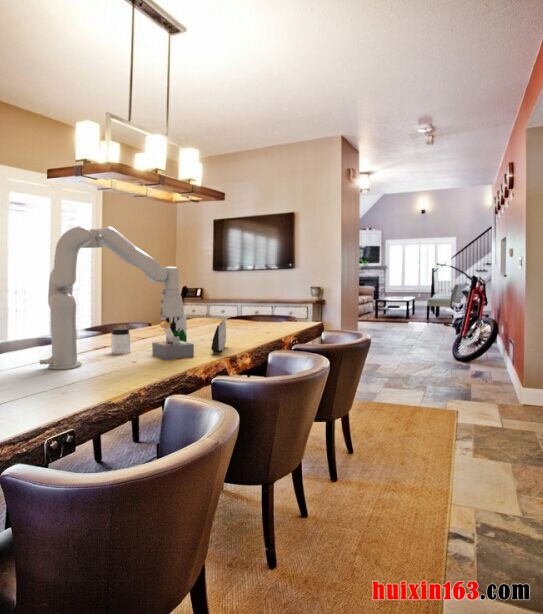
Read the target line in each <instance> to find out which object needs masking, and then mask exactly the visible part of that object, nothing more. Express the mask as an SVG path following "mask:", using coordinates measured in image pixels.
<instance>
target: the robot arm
mask: <svg viewBox="0 0 543 614" xmlns="http://www.w3.org/2000/svg"><path fill="white" fill-rule="evenodd" d="M83 248H85V249H91V248H98V249H100V248H107V249H108V250H110V251H111V252H112V253H113V254H115V255H116V256H117V257H118V258H119V259H120V260H122V261H123V262H124V263H126V264H128V265H130V266H134V267H135V268H137V269H139V270H140V271H141V272H143V274H144V278H145V279H146V281H148V282H149V283H155V284H156V283H157V284H161V283H162V290H161V291H160V294H161V295H162V296H161V301H160V315H161V317H160V320H162V321H165V322H169V323H170V325H171V326H170V329H171V331H172V332H175V330H176V323H177V321H178V320H179V319H181V318H183V315H184V313H185V311H184V303H183V298H182V295H180V269H179V268H178V267H177V266H163V265H162V264H160V263H159V262H158V261H157V260H156V259H155V258H153V257H152V256H150V254H147V253H146V252H145V251H143V250H142V249H140V248H139V247H138V246H136V245H134V243H133V242H131V241H130V240H129V239H128V238H127V237H125V236H124V235H123V234H122V233H120V232H119V231H118V230H117V229H115V228H113V227H112V226H105V227H102V228H88V227H86V226H84V225H78V226H75V227H72V228H70V229H68V230H67V231H65V232H64V233H63V234H62V235H61V236H60V237H59V239H58V241H57V243H56V246H55V251H54V261H53V262H54V263H53V269H52V270H51V272H50V273H49V281H48V293H47V294H48V296H47V297H48V298H47V303H48V307H49V309H50V333H51V355H50V357H48V358H47V359H46V358H43V359H39V365H48V368H49V369H50V370H70V369H76V368H79V367H81V366H82V362H81V361H78V346H77V345H78V343H77V339H78V338H77V301H76V299H75V297H74V296H73V288H74V285H75V284H76V282H77V261H78V256H79V255H78V254H79V252H80V249H83ZM172 317H173V319H172Z"/></svg>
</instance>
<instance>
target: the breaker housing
mask: <svg viewBox="0 0 543 614" xmlns="http://www.w3.org/2000/svg"><path fill="white" fill-rule="evenodd" d="M165 336H166V337H165V339H166V340H165V341H158V342H157V341H156V342H152V343H151V344H152V356H154V357H156V356H157V358H159V359H162V360H164V359H165V360H164V361H171V360H177V359H178V358H180V359H186V358H185V357H188V358H193V356H194V357H195V349H194V348H195V347H194V346H195V344H194V343H190V342H188V341H187V342H184V341H180V340H179V337H173V343H171V342H169V341H168V337H167V335H165ZM170 359H171V360H170ZM178 360H179V359H178Z"/></svg>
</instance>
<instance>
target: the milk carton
mask: <svg viewBox="0 0 543 614" xmlns="http://www.w3.org/2000/svg"><path fill="white" fill-rule="evenodd" d="M187 315H188V314H187V313H185V312H184V315H183V318H181V319H179V320H178V321H177V323H176V330H175V332H172V333H173V335H174V337H179V340H180V341H184V342H188V340H187V339H188V337H187V317H188V316H187ZM172 319H173V317H172Z"/></svg>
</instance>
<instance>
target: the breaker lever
mask: <svg viewBox="0 0 543 614" xmlns="http://www.w3.org/2000/svg"><path fill="white" fill-rule="evenodd" d="M159 325H160V327H161V328H163V331H164V333H165V334H166V335H167V337H168V341H169V342H171V343H173V337H174V335H173V333H172V331H171V329H170V326H171V325H170V323H169V322H167V321H166V320H162V321H161V322H160V323H159ZM166 335H165V336H166Z"/></svg>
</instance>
